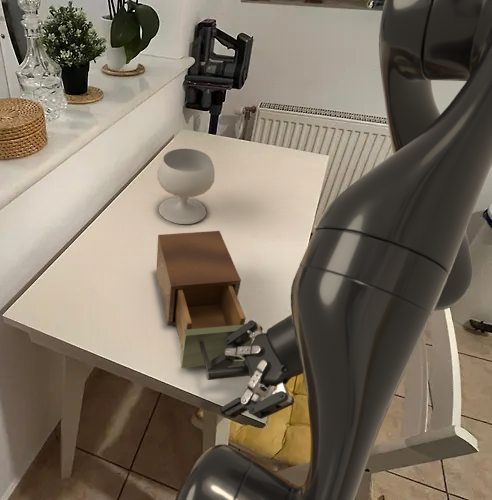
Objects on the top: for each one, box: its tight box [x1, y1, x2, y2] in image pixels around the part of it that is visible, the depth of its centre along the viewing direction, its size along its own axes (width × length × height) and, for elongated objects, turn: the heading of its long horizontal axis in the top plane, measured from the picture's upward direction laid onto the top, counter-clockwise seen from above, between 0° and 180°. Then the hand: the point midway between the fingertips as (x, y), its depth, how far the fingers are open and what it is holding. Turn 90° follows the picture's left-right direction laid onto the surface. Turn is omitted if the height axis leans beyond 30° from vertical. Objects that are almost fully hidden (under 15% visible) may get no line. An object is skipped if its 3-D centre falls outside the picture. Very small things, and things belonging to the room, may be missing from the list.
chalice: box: [156, 148, 216, 225], centre depth 107 cm, size 14×14×15 cm
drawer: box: [173, 285, 254, 381], centre depth 75 cm, size 20×12×9 cm, turn 7°
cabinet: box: [155, 230, 242, 327], centre depth 85 cm, size 15×13×11 cm
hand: (217, 390), depth 66 cm, fingers open, 7 cm apart
